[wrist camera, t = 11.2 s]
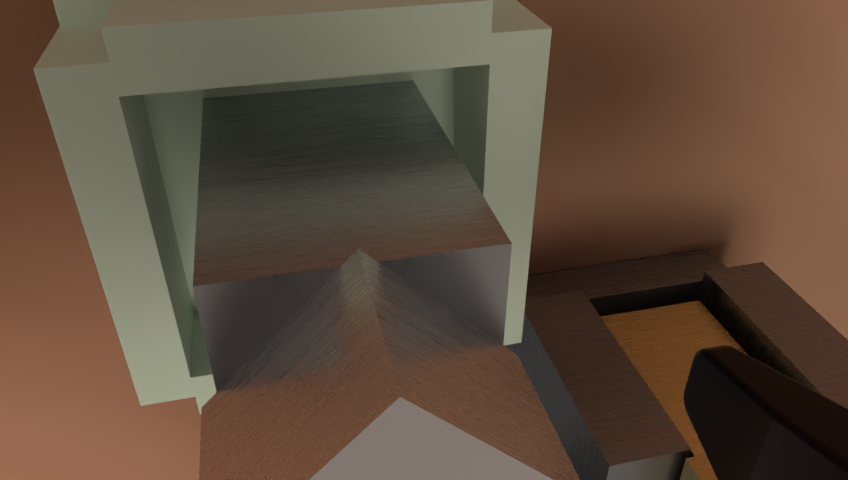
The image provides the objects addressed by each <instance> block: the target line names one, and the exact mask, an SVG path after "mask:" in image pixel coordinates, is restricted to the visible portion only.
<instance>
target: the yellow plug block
mask: <svg viewBox="0 0 848 480" xmlns="http://www.w3.org/2000/svg"><path fill="white" fill-rule="evenodd" d="M601 318H602V319H603V321H604V322H605V324H606V325H607V327H608V328H609V330H610V331H611V333H612V334H613V336H614V337H615V338H616V340H617V341H618V343H619V344H620V346H621V347H622V349H623V350H624V352H625V353H626V354H627V356H628V357H629V359H630V360H631V362H632V363H633V365H634V366H635V368H636V369H637V370H638V372H639V373H640V375H641V376H642V378H643V379H644V381H645V382H646V384H647V385H648V387H649V388H650V389H651V391H652V392H653V394H654V395H655V397H656V398H657V400H658V401H659V403H660V404H661V405H662V407H663V408H664V410H665V411H666V413H667V414H668V416H669V417H670V419H671V420H672V421H673V423H674V424H675V426H676V427H677V429H678V430H679V432H680V433H681V435H682V436H683V438H684V439H685V440H686V442H687V443H688V445H689V446H690V448H691V453H690V456H689V458H686V460H685V464H684V467H683V470H682V474H681V477H680V480H718V479H717V477H716V475H715V473H714V471H713V469H712V466H711V464H710V462H709V460H708V458H707V456H706V453H705V451H704V449H703V447H702V445H701V443H700V440H699V438H698V436H697V434H696V432H695V430H694V427H693V425H692V423H691V421H690V419H689V416H688V414H687V412H686V409H685V406H684V390H685V386H686V383H687V379H688V375H689V372H690V368H691V365H692V361H693V358H694V355H695V354H696V353H697V352H698V351H699V350H701V349H704V348H710V347H716V346H722V345H727V346H731V347H733V348H736V349H737V350H739V351H741V352H743V353H745V354H747V353H746V352H745V351H744V350H743V349H742V348H741V346H740V345H739V344H738V343H737V342H736V341H735V340H734V339H733V338H732V336H731V335H730V334H729V333H728V332H727V331H726V330H725V329H724V327H723V326H722V325H721V324H720V323H719V322H718V321H717V320H716V318H715V317H714V316H713V315H712V314H711V313H710V312H709V311H708V309H707V308H706V307H705V306H704V305H703V304H702V303H701V302H700V301H694V302H687V303H681V304H675V305H669V306H663V307H657V308H651V309H644V310H638V311H632V312H626V313H620V314H614V315H608V316H601ZM747 355H748V354H747Z"/></svg>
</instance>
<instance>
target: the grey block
mask: <svg viewBox="0 0 848 480" xmlns="http://www.w3.org/2000/svg"><path fill="white" fill-rule="evenodd" d="M511 248H512V243H511V241H510V239H509V238H508V236H507V234H506V233H505V231H504V230H503V228H502V226H501V225H500V223H499V221H498V220H497V218H496V216H495V215H494V213H493V211H492V210H491V208H490V206H489V205H488V203H487V201H486V200H485V198H484V197H483V195H482V193H481V192H480V190H479V188H478V187H477V185H476V183H475V182H474V180H473V178H472V177H471V175H470V173H469V172H468V170H467V168H466V167H465V165H464V164H463V162H462V160H461V159H460V157H459V155H458V154H457V152H456V150H455V149H454V147H453V145H452V144H451V142H450V140H449V139H448V137H447V135H446V134H445V132H444V131H443V129H442V127H441V126H440V124H439V122H438V121H437V119H436V117H435V116H434V114H433V112H432V111H431V109H430V107H429V106H428V104H427V102H426V101H425V99H424V98H423V96H422V94H421V93H420V91H419V89H418V88H417V86H416V84H415V83H414V81H413V80H411V81H399V82H387V83H376V84H364V85H353V86H341V87H329V88H318V89H306V90H295V91H283V92H271V93H260V94H248V95H237V96H225V97H213V98H203V110H202V128H201V146H200V164H199V182H198V200H197V218H196V235H195V253H194V271H193V290H194V295H195V299H196V303H197V308H198V312H199V317H200V321H201V326H202V330H203V334H204V339H205V343H206V348H207V352H208V357H209V361H210V365H211V370H212V374H213V379H214V383H215V387H216V393H215V394H214V395H213V397H212V398H211V399H210V400H209V401H208V402H207V403H206V404H205V405H204V406H203V407H202V408H201V440H200V471H199V480H580V478H579V476H578V474H577V473H576V471H575V469H574V467H573V465H572V463H571V461H570V459H569V457H568V455H567V453H566V451H565V449H564V447H563V445H562V443H561V441H560V439H559V437H558V435H557V433H556V431H555V429H554V427H553V425H552V423H551V421H550V419H549V417H548V415H547V413H546V411H545V409H544V407H543V405H542V403H541V401H540V399H539V397H538V395H537V393H536V391H535V389H534V387H533V385H532V383H531V381H530V379H529V377H528V375H527V373H526V371H525V369H524V367H523V365H522V363H521V361H520V359H519V357H518V355H517V354H515V353H514V352H512V351H511V350H509V349H508V348H506V347H505V346H503V344H504V332H505V320H506V308H507V296H508V284H509V272H510V260H511Z"/></svg>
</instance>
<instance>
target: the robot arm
mask: <svg viewBox="0 0 848 480" xmlns="http://www.w3.org/2000/svg"><path fill="white" fill-rule="evenodd" d="M684 406H685V409H686V412H687V414H688V416H689V419H690V421H691V423H692V425H693V427H694V430H695V432H696V434H697V436H698V438H699V440H700V443H701V445H702V447H703V449H704V451H705V453H706V456H707V458H708V460H709V462H710V464H711V466H712V469H713V471H714V473H715V475H716V477H717V479H718V480H848V408H846V407H844V406H842V405H840V404H838V403H836V402H834V401H833V400H831V399H829V398H827V397H825V396H823V395H821V394H820V393H818V392H816V391H814V390H812V389H810V388H808V387H806V386H805V385H803V384H801V383H799V382H797V381H795V380H793V379H792V378H790V377H788V376H786V375H784V374H782V373H780V372H778V371H777V370H775V369H773V368H771V367H769V366H767V365H765V364H764V363H762V362H760V361H758V360H756V359H754V358H752V357H750V356H749V355H747V354H745V353H743V352H741V351H739V350H737V349H736V348H733V347H731V346H727V345H722V346H716V347H710V348H704V349H701V350H699V351H698V352H697V353H696V354H695V355H694V358H693V361H692V365H691V368H690V372H689V375H688V379H687V383H686V386H685V390H684Z"/></svg>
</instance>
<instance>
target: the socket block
mask: <svg viewBox="0 0 848 480" xmlns="http://www.w3.org/2000/svg"><path fill="white" fill-rule="evenodd" d="M694 301H700V302H701V303H702V304H703V305H704V306H705V307H706V308H707V309H708V311H709V312H710V313H711V314H712V315H713V316H714V317H715V318H716V320H717V321H718V322H719V323H720V324H721V325H722V326H723V327H724V329H725V330H726V331H727V332H728V333H729V334H730V335H731V336H732V338H733V339H734V340H735V341H736V342H737V343H738V344H739V345H740V346H741V348H742V349H743V350H744V351H745V352H746V353H747V354H748V355H749V356H750V357H752V358H754V359H756V360H758V361H760V362H762V363H764V364H765V365H767V366H769V367H771V368H773V369H775V370H777V371H778V372H780V373H782V374H784V375H786V376H788V377H790V378H792V379H793V380H795V381H797V382H799V383H801V384H803V385H805V386H806V387H808V388H810V389H812V390H814V391H816V392H818V393H820V394H821V395H823V396H825V397H827V398H829V399H831V400H833V401H834V402H836V403H838V404H840V405H842V406H844V407H846V408H848V340H847V339H846V338H845V337H844V336H843V335H841V334H840V333H839V332H838V331H837V330H836V329H835V328H834V327H833V326H832V325H831V324H830V323H828V322H827V321H826V320H825V319H824V318H823V317H822V316H821V315H820V314H819V313H818V312H816V311H815V310H814V309H813V308H812V307H811V306H810V305H809V304H808V303H807V302H806V301H805V300H803V299H802V298H801V297H800V296H799V295H798V294H797V293H796V292H795V291H794V290H793V289H791V288H790V287H789V286H788V285H787V284H786V283H785V282H784V281H783V280H782V279H781V278H779V277H778V276H777V275H776V274H775V273H774V272H773V271H772V270H771V269H770V268H769V267H768V266H766V265H765V264H764V263H763V262H761V263H754V264H748V265H741V266H735V267H728V268H726V267H725V266H724V265H723V264H722V263H721V262H720V261H719V260H718V259H717V258H716V257H715V256H714V255H713V254H712V253H711V252H710V251H709V250H708V249H706V250H699V251H692V252H686V253H679V254H672V255H665V256H659V257H652V258H645V259H638V260H631V261H625V262H618V263H611V264H604V265H598V266H591V267H584V268H577V269H571V270H564V271H557V272H550V273H544V274H537V275H530V276H528V280H527V290H526V300H525V311H524V321H523V331H522V341H521V343H515V344H509V345H503V346H505V347H506V348H508V349H509V350H511V351H512V352H514V353H515V354H517V355H518V357H519V359H520V361H521V363H522V365H523V367H524V369H525V371H526V373H527V375H528V377H529V379H530V381H531V383H532V385H533V387H534V389H535V391H536V393H537V395H538V397H539V399H540V401H541V403H542V405H543V407H544V409H545V411H546V413H547V415H548V417H549V419H550V421H551V423H552V425H553V427H554V429H555V431H556V433H557V435H558V437H559V439H560V441H561V443H562V445H563V447H564V449H565V451H566V453H567V455H568V457H569V459H570V461H571V463H572V465H573V467H574V469H575V471H576V473H577V474H578V476H579V478H580V480H680V477H681V474H682V470H683V467H684V464H685V460H686V458H689V456H690V453H691V448H690V446H689V445H688V443H687V442H686V440H685V439H684V438H683V436H682V435H681V433H680V432H679V430H678V429H677V427H676V426H675V424H674V423H673V421H672V420H671V419H670V417H669V416H668V414H667V413H666V411H665V410H664V408H663V407H662V405H661V404H660V403H659V401H658V400H657V398H656V397H655V395H654V394H653V392H652V391H651V389H650V388H649V387H648V385H647V384H646V382H645V381H644V379H643V378H642V376H641V375H640V373H639V372H638V370H637V369H636V368H635V366H634V365H633V363H632V362H631V360H630V359H629V357H628V356H627V354H626V353H625V352H624V350H623V349H622V347H621V346H620V344H619V343H618V341H617V340H616V338H615V337H614V336H613V334H612V333H611V331H610V330H609V328H608V327H607V325H606V324H605V322H604V321H603V319H602V318H601V316H608V315H614V314H620V313H626V312H632V311H638V310H644V309H651V308H657V307H663V306H669V305H675V304H681V303H687V302H694Z"/></svg>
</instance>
